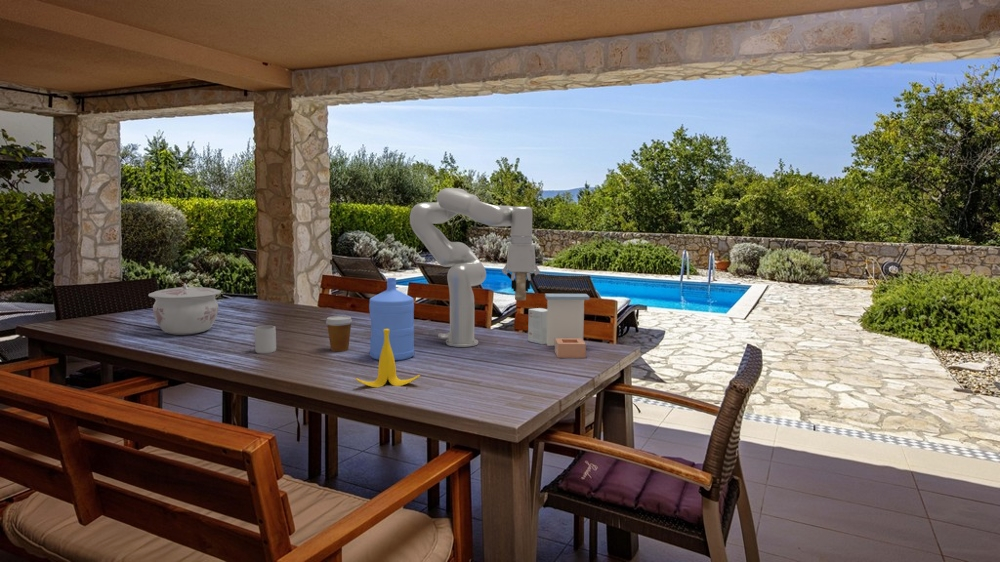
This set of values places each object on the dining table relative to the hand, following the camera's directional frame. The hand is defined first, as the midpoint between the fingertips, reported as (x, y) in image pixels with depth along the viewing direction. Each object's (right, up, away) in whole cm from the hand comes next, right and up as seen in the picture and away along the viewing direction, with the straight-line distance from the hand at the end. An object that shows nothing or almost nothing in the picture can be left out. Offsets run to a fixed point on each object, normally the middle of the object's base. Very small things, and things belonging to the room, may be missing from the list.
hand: (520, 290), depth 232 cm
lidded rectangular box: (+18, -22, +13) cm, 31 cm away
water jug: (-46, -24, -5) cm, 52 cm away
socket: (+18, -23, 0) cm, 29 cm away
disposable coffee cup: (-67, -22, +4) cm, 71 cm away
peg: (0, -3, 0) cm, 3 cm away
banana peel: (-39, -28, -40) cm, 63 cm away
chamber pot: (-139, -18, +35) cm, 144 cm away
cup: (-93, -22, +2) cm, 96 cm away
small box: (+9, -21, +22) cm, 31 cm away
